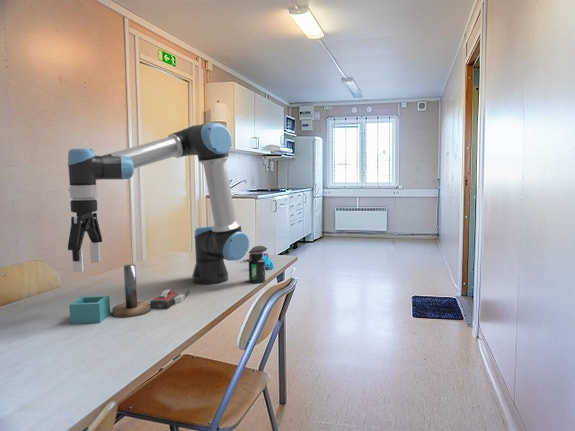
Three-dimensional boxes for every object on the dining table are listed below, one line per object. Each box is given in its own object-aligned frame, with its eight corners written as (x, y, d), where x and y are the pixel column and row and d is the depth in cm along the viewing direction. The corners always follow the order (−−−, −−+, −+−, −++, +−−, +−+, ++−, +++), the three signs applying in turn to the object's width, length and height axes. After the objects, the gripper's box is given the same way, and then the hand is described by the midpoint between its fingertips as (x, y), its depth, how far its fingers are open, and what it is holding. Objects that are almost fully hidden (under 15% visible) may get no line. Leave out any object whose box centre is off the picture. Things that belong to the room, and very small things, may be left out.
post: (138, 305, 149) (136, 264, 148) (135, 308, 145) (133, 266, 144) (127, 305, 149) (125, 264, 147) (124, 308, 145) (122, 266, 144)
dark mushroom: (250, 270, 227) (241, 253, 226) (257, 264, 236) (248, 248, 236) (268, 261, 223) (259, 244, 222) (275, 255, 232) (265, 239, 232)
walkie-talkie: (173, 310, 148) (192, 294, 168) (172, 298, 148) (191, 283, 168) (147, 310, 149) (169, 294, 169) (147, 297, 149) (169, 283, 169)
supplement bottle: (255, 284, 180) (254, 255, 179) (245, 281, 185) (245, 253, 184) (268, 281, 185) (268, 253, 184) (258, 278, 190) (258, 251, 189)
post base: (154, 305, 154) (154, 301, 153) (145, 316, 142) (145, 312, 141) (119, 306, 153) (119, 302, 153) (107, 317, 141) (106, 313, 141)
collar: (110, 313, 145) (109, 295, 145) (100, 322, 136) (99, 303, 136) (82, 314, 145) (81, 296, 144) (70, 323, 136) (69, 304, 135)
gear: (269, 267, 203) (256, 251, 206) (261, 276, 204) (247, 260, 207) (278, 266, 213) (265, 250, 216) (270, 274, 215) (257, 259, 217)
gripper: (87, 197, 149) (90, 259, 151) (52, 201, 124) (56, 276, 126) (110, 197, 150) (113, 258, 152) (79, 201, 125) (83, 275, 127)
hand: (87, 266), depth 139 cm, fingers open, 13 cm apart
